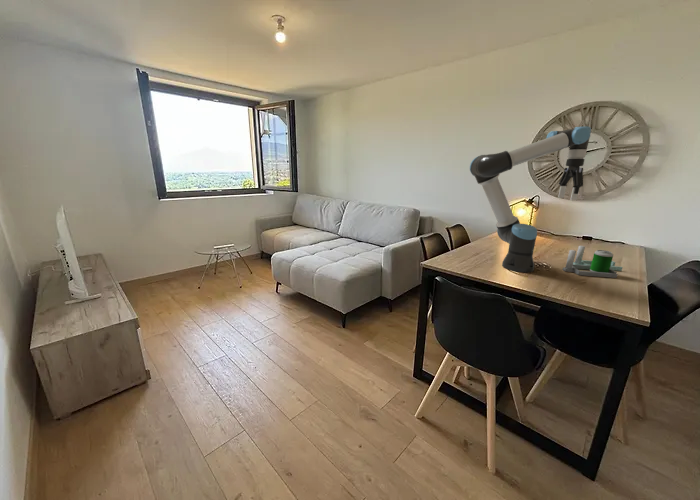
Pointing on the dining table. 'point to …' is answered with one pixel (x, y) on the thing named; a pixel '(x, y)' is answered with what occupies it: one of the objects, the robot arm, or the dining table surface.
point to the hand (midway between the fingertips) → (566, 198)
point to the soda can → (601, 261)
